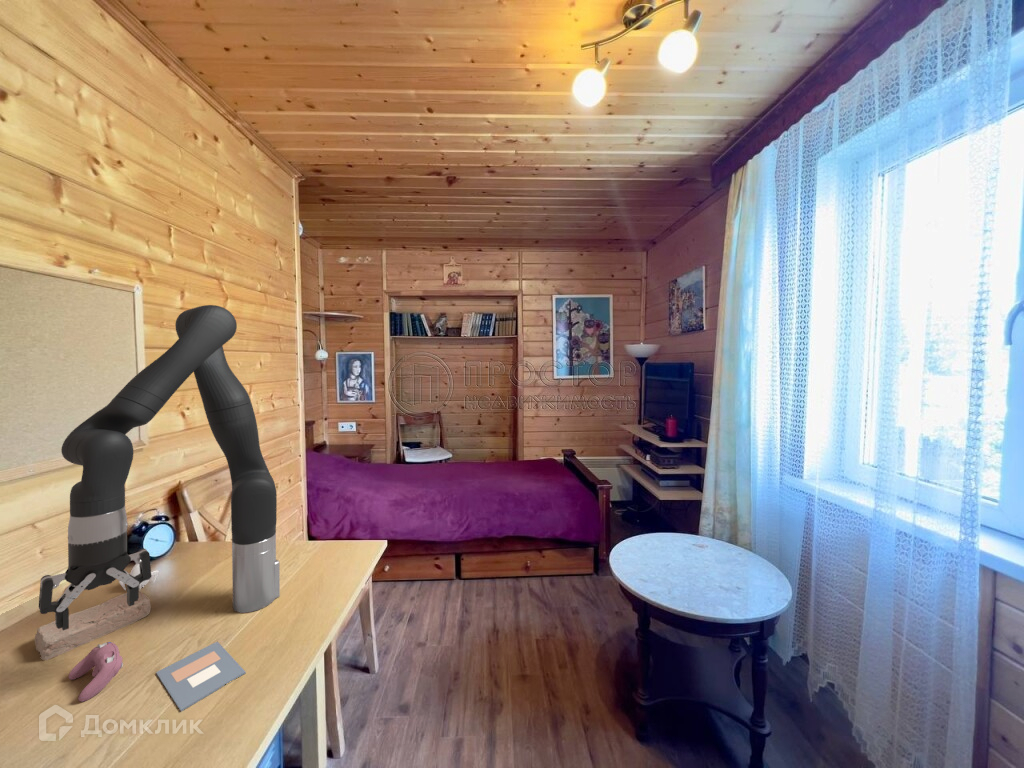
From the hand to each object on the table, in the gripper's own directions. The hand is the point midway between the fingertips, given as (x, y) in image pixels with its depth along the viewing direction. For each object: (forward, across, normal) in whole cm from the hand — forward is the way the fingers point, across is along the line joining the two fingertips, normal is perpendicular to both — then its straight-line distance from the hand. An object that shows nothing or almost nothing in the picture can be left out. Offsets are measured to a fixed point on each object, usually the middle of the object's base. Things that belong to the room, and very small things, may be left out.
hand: (99, 615), depth 72 cm
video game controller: (+13, 0, +1) cm, 13 cm away
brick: (+13, -2, -19) cm, 23 cm away
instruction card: (+12, -12, +14) cm, 22 cm away
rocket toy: (+13, -12, -33) cm, 37 cm away
